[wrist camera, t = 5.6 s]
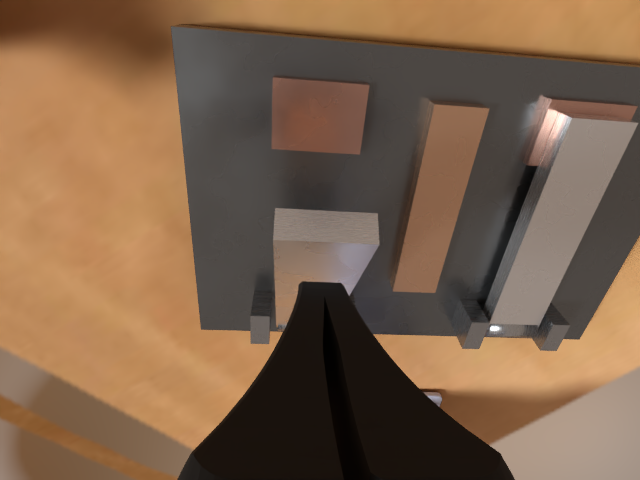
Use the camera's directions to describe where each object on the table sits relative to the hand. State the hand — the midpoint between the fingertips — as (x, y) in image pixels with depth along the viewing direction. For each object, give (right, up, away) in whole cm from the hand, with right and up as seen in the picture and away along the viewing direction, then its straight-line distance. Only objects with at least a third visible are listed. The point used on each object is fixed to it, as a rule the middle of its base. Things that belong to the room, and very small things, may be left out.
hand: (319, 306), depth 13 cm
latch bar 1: (0, +1, +5) cm, 5 cm away
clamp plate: (+5, +4, +9) cm, 11 cm away
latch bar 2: (+11, +2, +8) cm, 14 cm away
